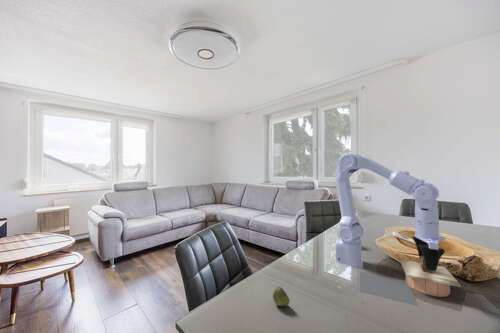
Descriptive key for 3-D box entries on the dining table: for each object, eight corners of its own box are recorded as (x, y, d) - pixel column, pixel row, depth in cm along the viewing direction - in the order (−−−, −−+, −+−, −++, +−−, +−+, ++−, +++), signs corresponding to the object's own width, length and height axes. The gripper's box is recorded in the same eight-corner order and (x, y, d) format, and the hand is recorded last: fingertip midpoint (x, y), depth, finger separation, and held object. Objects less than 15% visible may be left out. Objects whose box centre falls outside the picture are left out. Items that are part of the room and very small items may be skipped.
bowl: (410, 292, 62) (409, 276, 62) (403, 277, 71) (403, 262, 71) (455, 302, 57) (454, 284, 57) (442, 284, 66) (441, 269, 66)
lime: (274, 298, 59) (274, 281, 59) (291, 302, 57) (291, 284, 57) (270, 308, 55) (270, 289, 55) (288, 312, 53) (288, 293, 53)
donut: (354, 247, 99) (354, 226, 99) (349, 248, 98) (348, 227, 98) (340, 240, 108) (340, 222, 108) (335, 241, 107) (334, 222, 108)
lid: (406, 276, 62) (406, 261, 62) (400, 261, 73) (400, 248, 73) (460, 287, 56) (460, 270, 56) (445, 269, 67) (444, 254, 67)
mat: (359, 292, 62) (359, 291, 62) (359, 272, 74) (359, 271, 74) (417, 307, 55) (417, 305, 55) (407, 282, 67) (407, 281, 67)
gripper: (452, 229, 56) (453, 278, 56) (435, 218, 69) (436, 258, 69) (420, 225, 60) (421, 272, 59) (409, 216, 73) (410, 254, 72)
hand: (427, 264), depth 64 cm, fingers open, 7 cm apart
